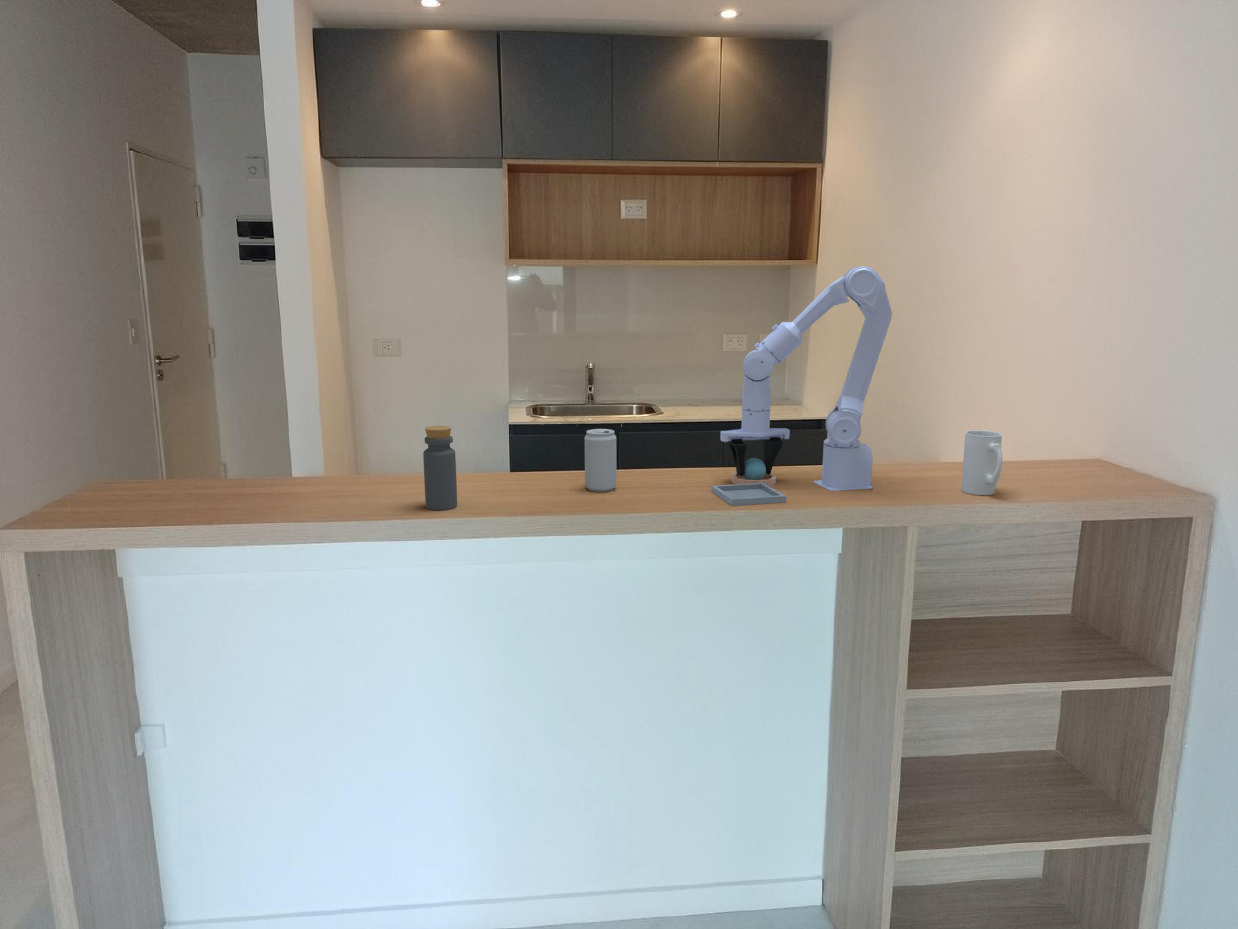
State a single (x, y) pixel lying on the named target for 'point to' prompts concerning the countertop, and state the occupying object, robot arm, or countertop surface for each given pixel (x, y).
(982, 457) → the mug
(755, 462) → the ball
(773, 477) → the dish
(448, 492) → the bottle
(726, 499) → the tray
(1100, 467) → the countertop surface
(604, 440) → the beverage can
